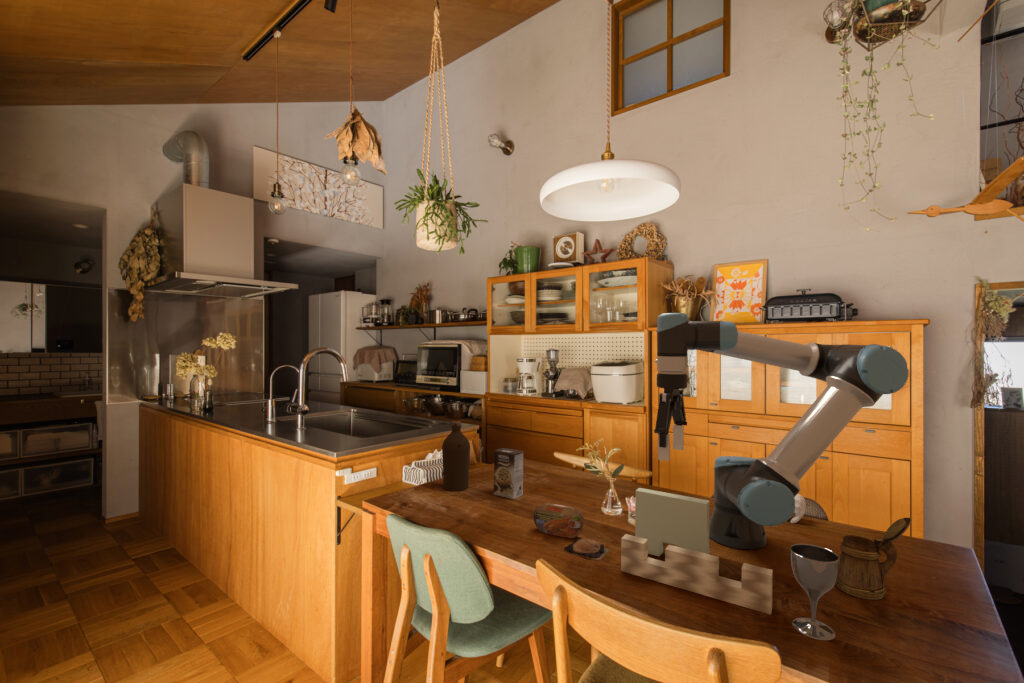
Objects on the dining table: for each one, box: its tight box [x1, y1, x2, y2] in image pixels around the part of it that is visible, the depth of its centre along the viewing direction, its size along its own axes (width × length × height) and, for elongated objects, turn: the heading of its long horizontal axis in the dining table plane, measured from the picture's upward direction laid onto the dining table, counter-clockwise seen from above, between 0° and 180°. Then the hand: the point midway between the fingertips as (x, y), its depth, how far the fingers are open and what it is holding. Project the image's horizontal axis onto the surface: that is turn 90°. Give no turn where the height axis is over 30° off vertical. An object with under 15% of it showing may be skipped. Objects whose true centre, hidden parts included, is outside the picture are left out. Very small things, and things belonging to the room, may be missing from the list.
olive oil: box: [441, 420, 471, 492], centre depth 177 cm, size 11×11×25 cm
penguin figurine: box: [790, 493, 807, 524], centre depth 148 cm, size 6×8×12 cm
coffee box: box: [493, 447, 524, 500], centre depth 169 cm, size 9×6×16 cm
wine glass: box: [789, 542, 840, 641], centre depth 91 cm, size 8×8×15 cm
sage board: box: [634, 487, 710, 558], centre depth 121 cm, size 18×3×16 cm, turn 56°
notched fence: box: [620, 533, 774, 615], centre depth 106 cm, size 32×3×8 cm, turn 56°
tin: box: [533, 502, 585, 539], centre depth 135 cm, size 15×3×8 cm, turn 62°
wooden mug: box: [834, 517, 912, 601], centre depth 105 cm, size 9×14×18 cm, turn 61°
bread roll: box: [563, 537, 610, 562], centre depth 125 cm, size 11×8×4 cm
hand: (671, 454), depth 121 cm, fingers open, 13 cm apart
